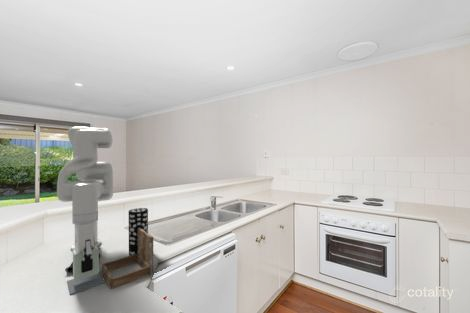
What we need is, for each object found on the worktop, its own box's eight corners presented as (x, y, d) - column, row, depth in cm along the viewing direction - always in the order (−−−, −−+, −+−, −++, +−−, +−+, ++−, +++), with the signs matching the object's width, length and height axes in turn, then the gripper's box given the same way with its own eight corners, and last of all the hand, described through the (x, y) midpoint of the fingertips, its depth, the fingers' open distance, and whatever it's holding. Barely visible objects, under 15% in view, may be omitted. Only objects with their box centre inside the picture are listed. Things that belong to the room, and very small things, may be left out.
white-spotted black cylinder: (128, 251, 102) (128, 209, 102) (147, 247, 106) (147, 207, 106) (128, 258, 95) (128, 213, 95) (149, 254, 99) (148, 211, 99)
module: (73, 275, 76) (72, 248, 76) (96, 268, 81) (95, 242, 81) (74, 281, 73) (74, 252, 73) (98, 273, 77) (98, 246, 77)
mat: (67, 281, 77) (67, 280, 77) (99, 271, 84) (99, 270, 84) (69, 295, 70) (69, 294, 70) (105, 282, 77) (105, 281, 77)
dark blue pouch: (94, 273, 86) (103, 252, 100) (91, 261, 85) (100, 242, 99) (66, 281, 83) (80, 258, 97) (63, 268, 82) (77, 247, 96)
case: (101, 271, 84) (101, 236, 84) (140, 259, 94) (140, 227, 94) (111, 290, 72) (111, 249, 72) (154, 274, 82) (154, 237, 82)
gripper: (70, 214, 81) (70, 263, 81) (75, 225, 68) (75, 282, 68) (93, 211, 86) (94, 256, 86) (102, 220, 73) (103, 273, 73)
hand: (85, 267), depth 77 cm, fingers closed on module, 5 cm apart
